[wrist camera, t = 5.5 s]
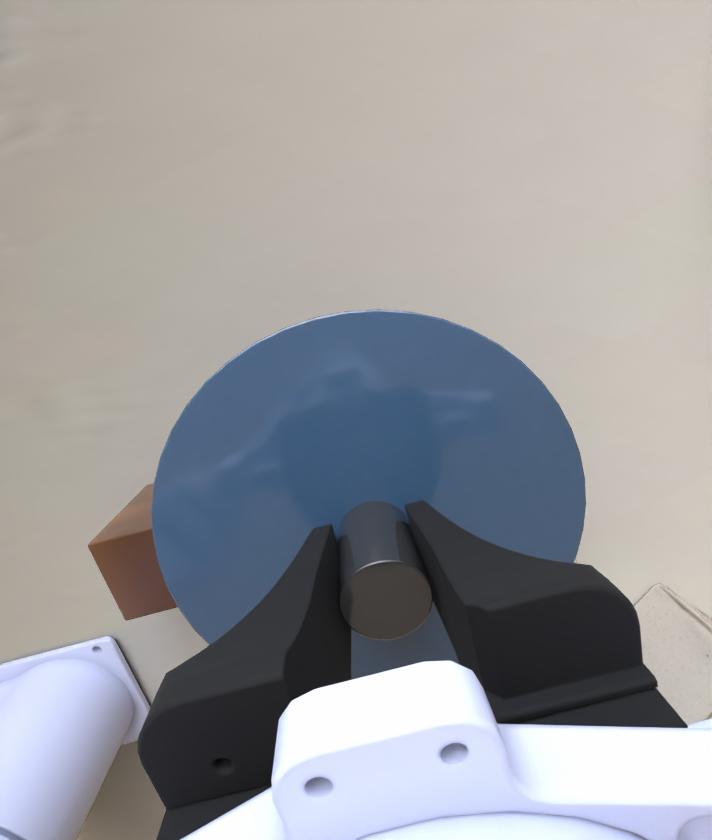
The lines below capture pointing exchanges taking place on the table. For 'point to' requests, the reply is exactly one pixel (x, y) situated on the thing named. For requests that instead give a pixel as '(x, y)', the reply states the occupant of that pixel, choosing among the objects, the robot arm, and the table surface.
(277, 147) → the table surface
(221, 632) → the lid
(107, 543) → the block
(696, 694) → the box
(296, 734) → the robot arm
